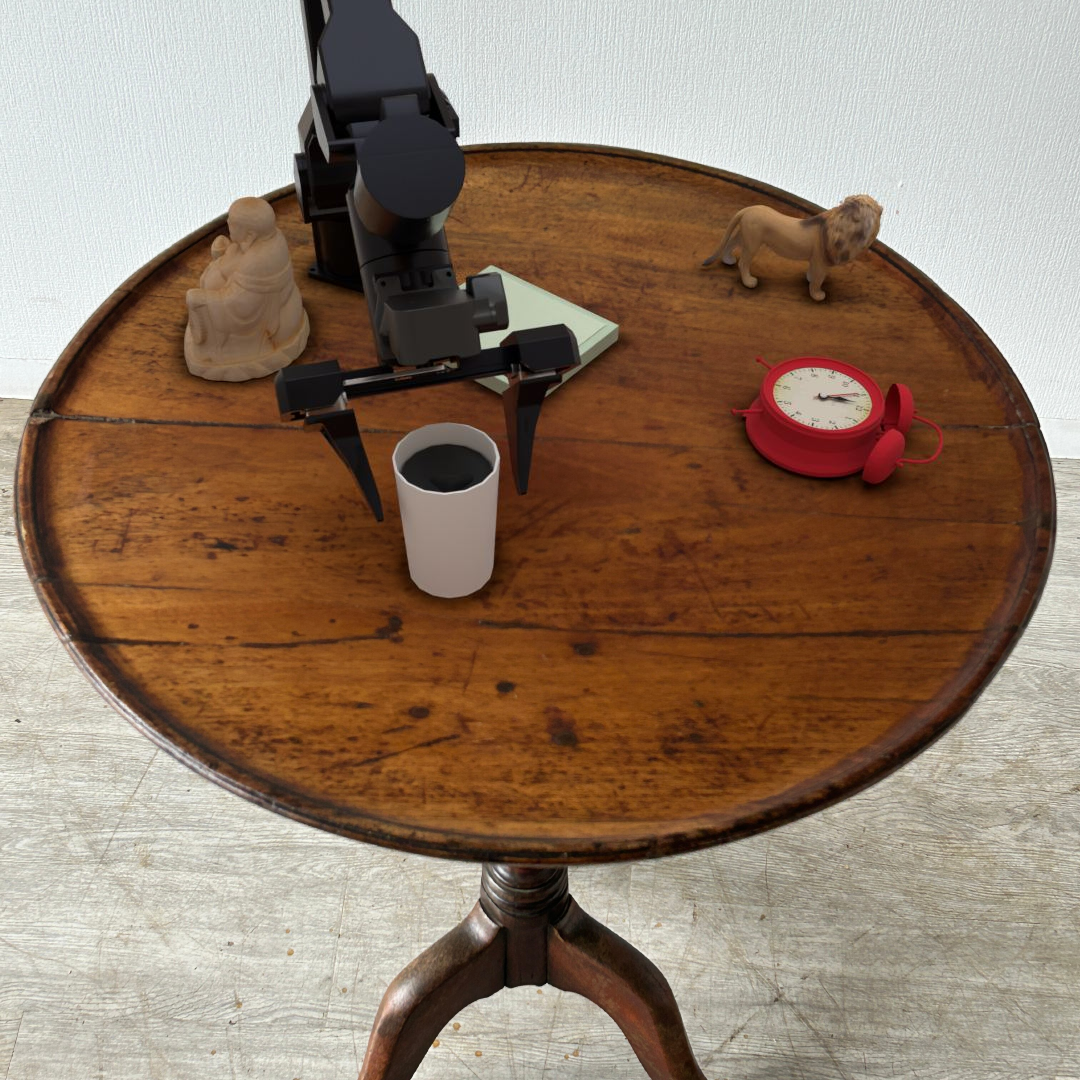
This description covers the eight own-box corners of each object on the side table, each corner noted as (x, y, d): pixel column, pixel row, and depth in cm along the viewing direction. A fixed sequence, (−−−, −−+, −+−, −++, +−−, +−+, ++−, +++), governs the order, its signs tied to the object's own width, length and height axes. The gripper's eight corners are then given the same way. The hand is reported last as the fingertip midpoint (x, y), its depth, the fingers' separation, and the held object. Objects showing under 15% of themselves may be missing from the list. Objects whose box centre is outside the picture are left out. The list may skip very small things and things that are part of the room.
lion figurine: (862, 275, 103) (887, 184, 96) (863, 308, 99) (888, 216, 93) (702, 255, 104) (715, 165, 98) (697, 287, 101) (710, 195, 94)
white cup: (520, 565, 77) (522, 457, 70) (449, 619, 74) (443, 511, 66) (453, 516, 80) (448, 408, 73) (382, 565, 77) (369, 457, 69)
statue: (332, 264, 83) (192, 231, 80) (298, 408, 92) (171, 382, 89) (339, 182, 91) (212, 149, 88) (307, 321, 101) (191, 295, 98)
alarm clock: (757, 338, 90) (956, 350, 84) (761, 402, 94) (951, 418, 88) (721, 416, 83) (934, 434, 77) (727, 481, 87) (930, 504, 81)
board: (399, 340, 94) (397, 324, 93) (491, 279, 101) (491, 263, 100) (529, 410, 88) (529, 393, 87) (618, 339, 95) (619, 323, 94)
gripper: (250, 252, 60) (307, 536, 61) (579, 207, 65) (629, 475, 65) (255, 295, 71) (304, 536, 72) (537, 254, 75) (580, 483, 76)
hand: (452, 508), depth 71 cm, fingers open, 9 cm apart
